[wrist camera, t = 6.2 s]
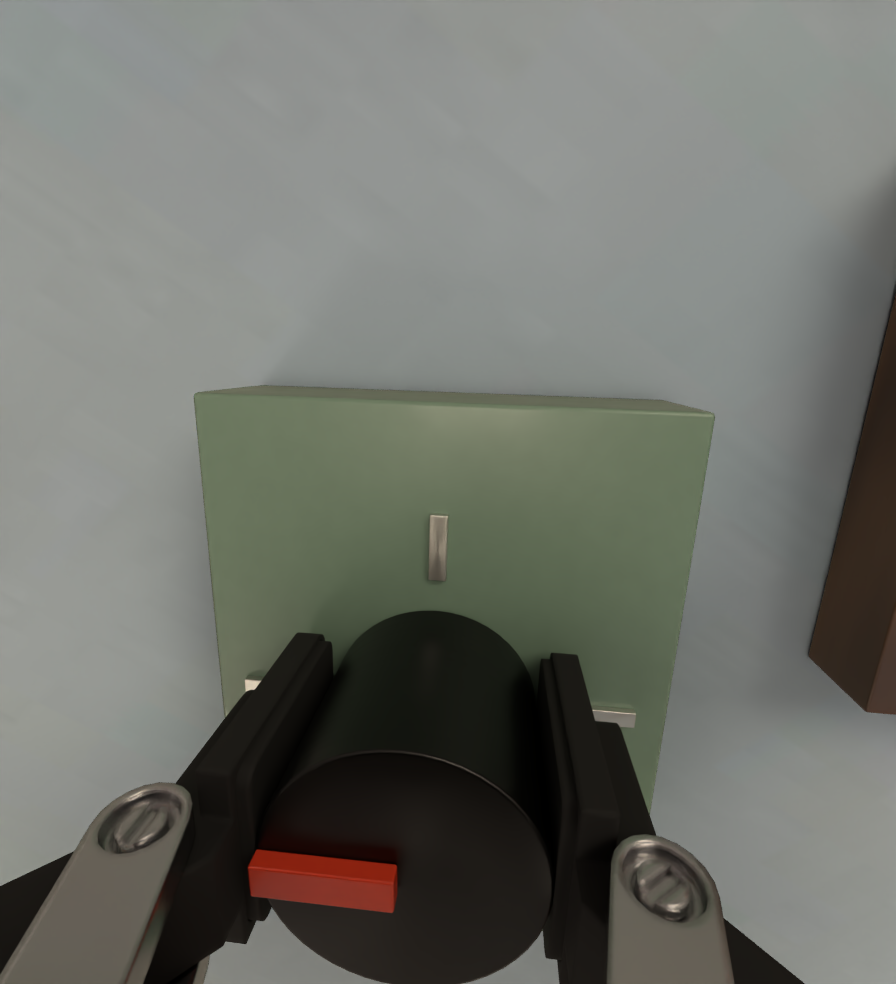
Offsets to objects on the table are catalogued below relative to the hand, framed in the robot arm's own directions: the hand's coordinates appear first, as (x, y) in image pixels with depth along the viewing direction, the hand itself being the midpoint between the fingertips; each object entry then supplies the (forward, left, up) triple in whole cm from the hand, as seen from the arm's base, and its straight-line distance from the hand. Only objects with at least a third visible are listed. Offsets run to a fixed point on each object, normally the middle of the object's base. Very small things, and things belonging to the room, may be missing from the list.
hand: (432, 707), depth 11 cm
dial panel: (0, 0, -3) cm, 3 cm away
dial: (0, 0, 0) cm, 0 cm away
